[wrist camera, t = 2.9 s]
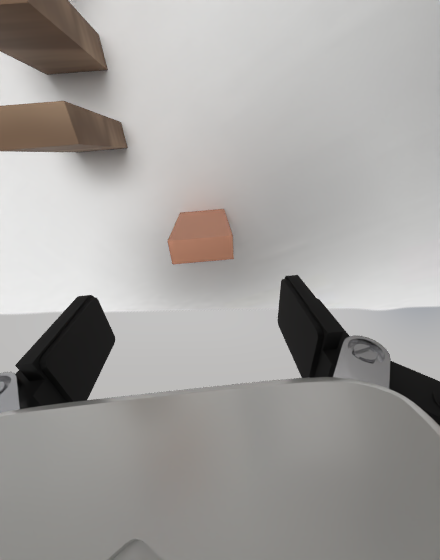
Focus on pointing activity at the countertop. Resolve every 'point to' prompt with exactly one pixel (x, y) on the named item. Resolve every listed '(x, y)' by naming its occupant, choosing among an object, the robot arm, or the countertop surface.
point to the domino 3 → (201, 237)
